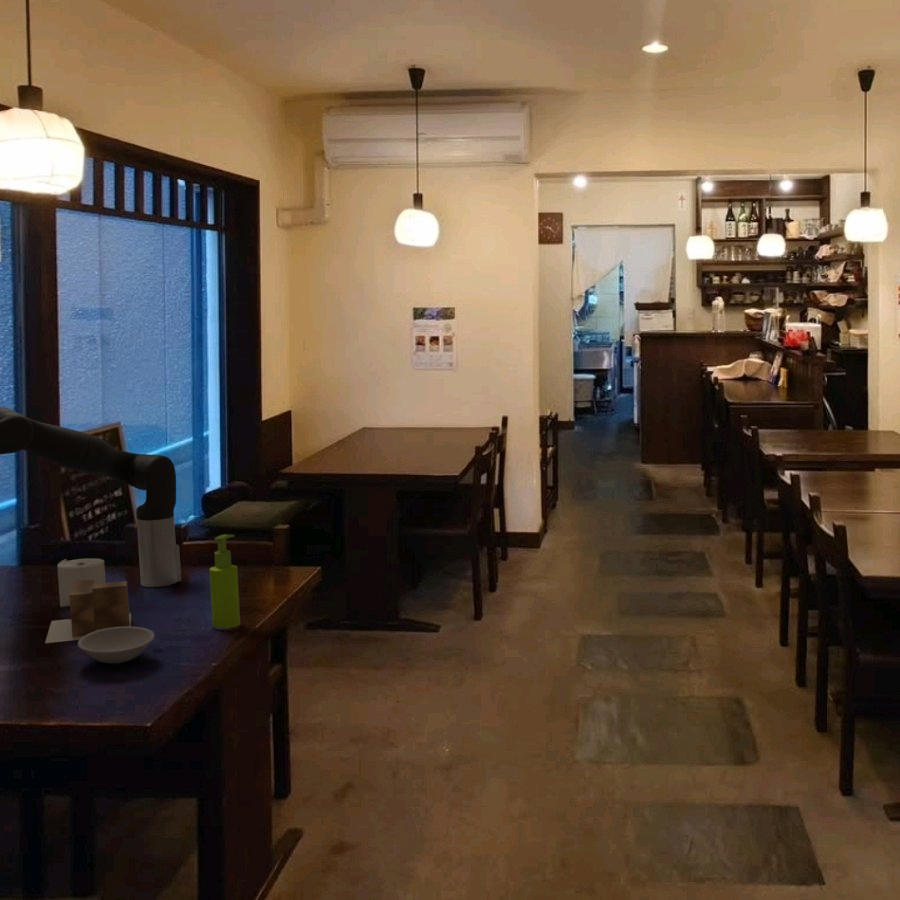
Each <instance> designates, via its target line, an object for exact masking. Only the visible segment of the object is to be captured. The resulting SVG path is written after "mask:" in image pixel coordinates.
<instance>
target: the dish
mask: <svg viewBox="0 0 900 900" xmlns="http://www.w3.org/2000/svg"><path fill="white" fill-rule="evenodd" d="M155 637H156V636H155V633H154V631H153V630H150V629H148V628H145V627H140V626H132V625H131V626H125V627H113V628H107V629H102V630H98V631H95V632H92V633H89V634H87V635H85V636H83V637H82V638H81V639H80V640H77V647H78V648H79V649H80V650H82V651H84V652H85V653H86V654H87V656H89V657H90V658H92V659H93V660H95V661H97V662H99V663H104V664H114V663H121V662H123V663H124V662H125V663H126V662H128V661H132V660H133V659H135V658H137V657H138V656H140V655H141V654H142V653H143V652H144V651H146V649H147V648H148V646H149V645H150V643H152V642H153V641H154V639H155Z"/></svg>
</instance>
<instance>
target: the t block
mask: <svg viewBox="0 0 900 900" xmlns="http://www.w3.org/2000/svg"><path fill="white" fill-rule="evenodd" d="M128 591H129V588H128V580H124V581H111V582H106V583H99V584H95V582H94V580H86V581H74V582H73V583H72V587H71V591H70V595H69V598H70V606H69V609H70V619H71V625H72V637H79V636H85V635H87V634H89V633H92V632H95V630H96V629H106V628H113V627H125V626H130V618H129V613H130V606H129V605H130V604H129V603H130V602H129V592H128Z"/></svg>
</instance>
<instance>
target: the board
mask: <svg viewBox="0 0 900 900" xmlns="http://www.w3.org/2000/svg"><path fill="white" fill-rule="evenodd" d="M129 618H130V626H131V627H132V613H131V612H129ZM106 629H107V628H106ZM98 630H102V629H96V630H95V631H98ZM82 637H83V636H79V637H72V625H71V618H69V619H59V620H58V619H57V620H51V622H50V625H49V628H48V632H47V636H46V639H45V642H44V644H53V643H61V642H62V643H63V642H69V641H72V642H73V641H79V640H80V639H81V638H82Z"/></svg>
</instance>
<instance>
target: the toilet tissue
mask: <svg viewBox="0 0 900 900" xmlns="http://www.w3.org/2000/svg"><path fill="white" fill-rule="evenodd" d="M105 569H106V568H105V560H104V559H101V558H77V559H72V560H67V558H65V559H63V560H61V561H60V562H58V564H57V576H58V577H57V579H58V592H59V605H60V608H64V607H70V598H69V595H70V591H71V587H72V583H73V582H74V581H86V580H94V582H95V584H99V583H107V582H106V571H105Z"/></svg>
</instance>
